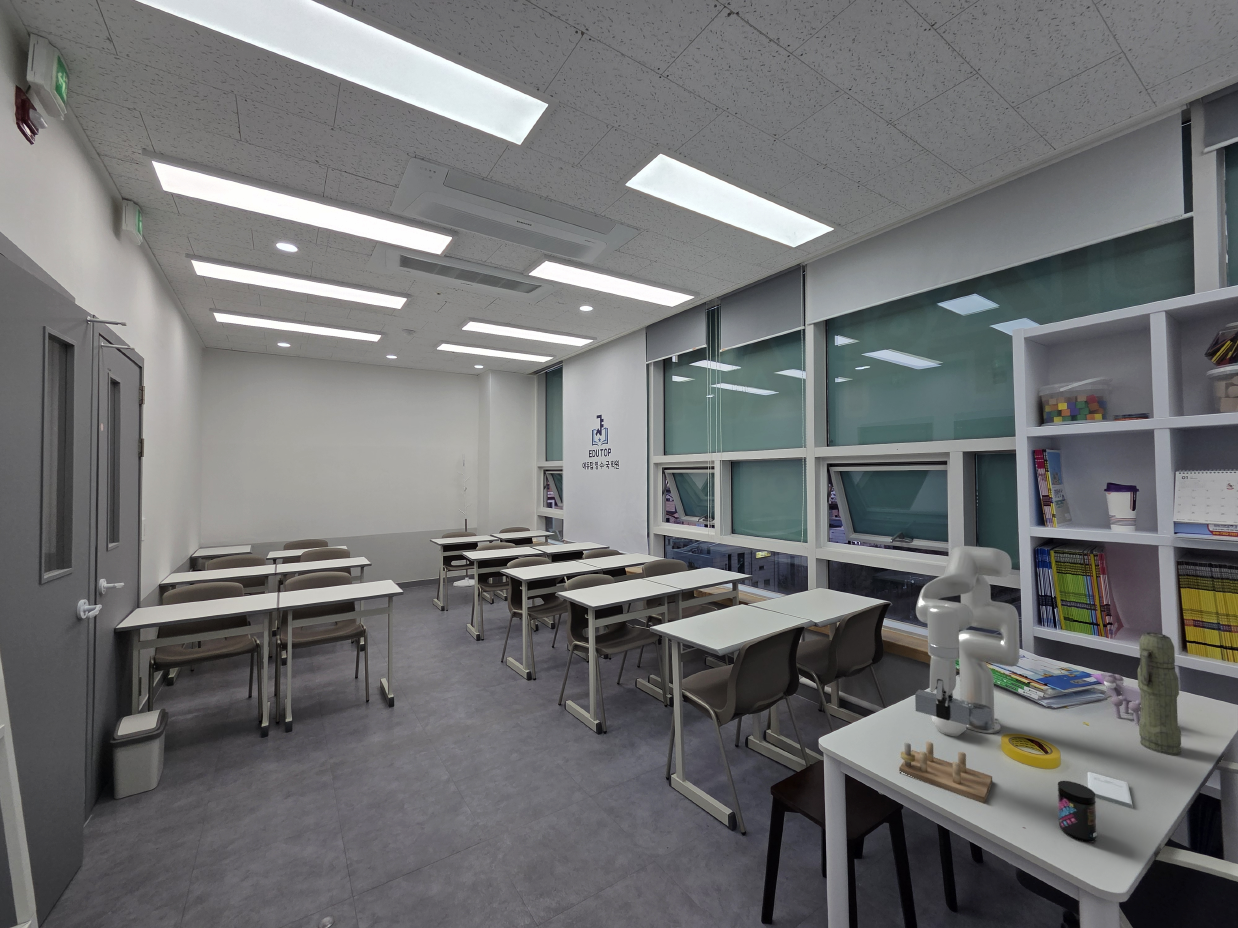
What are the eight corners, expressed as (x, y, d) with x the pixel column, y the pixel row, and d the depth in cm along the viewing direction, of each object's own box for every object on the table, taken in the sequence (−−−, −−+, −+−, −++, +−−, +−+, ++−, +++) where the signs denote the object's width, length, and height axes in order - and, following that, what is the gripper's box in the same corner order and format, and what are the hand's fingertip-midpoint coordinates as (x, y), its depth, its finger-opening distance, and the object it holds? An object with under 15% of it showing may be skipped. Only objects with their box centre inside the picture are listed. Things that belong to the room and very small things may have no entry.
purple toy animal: (1082, 707, 187) (1082, 669, 187) (1099, 704, 191) (1098, 667, 191) (1156, 732, 168) (1155, 690, 169) (1172, 728, 172) (1172, 687, 173)
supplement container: (1061, 819, 126) (1060, 777, 126) (1098, 834, 121) (1097, 789, 121) (1056, 832, 121) (1055, 788, 122) (1094, 847, 116) (1093, 801, 116)
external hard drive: (1089, 797, 135) (1087, 776, 145) (1132, 810, 130) (1128, 787, 139) (1088, 791, 135) (1087, 770, 145) (1132, 803, 130) (1127, 781, 139)
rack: (910, 754, 156) (910, 729, 156) (992, 781, 142) (991, 754, 142) (898, 772, 146) (897, 745, 147) (984, 803, 132) (983, 773, 133)
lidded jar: (957, 724, 175) (956, 696, 175) (975, 740, 164) (975, 710, 164) (924, 723, 176) (923, 695, 176) (940, 738, 165) (940, 709, 165)
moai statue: (1190, 751, 157) (1186, 636, 158) (1168, 758, 153) (1164, 640, 154) (1152, 737, 165) (1148, 628, 166) (1130, 743, 161) (1126, 632, 162)
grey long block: (919, 705, 151) (919, 688, 151) (993, 725, 139) (993, 706, 139) (914, 711, 147) (914, 693, 147) (990, 732, 135) (989, 713, 135)
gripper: (935, 640, 154) (936, 702, 153) (921, 654, 141) (922, 721, 141) (965, 646, 148) (966, 709, 148) (952, 661, 136) (954, 730, 136)
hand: (945, 714), depth 144 cm, fingers closed on grey long block, 4 cm apart
